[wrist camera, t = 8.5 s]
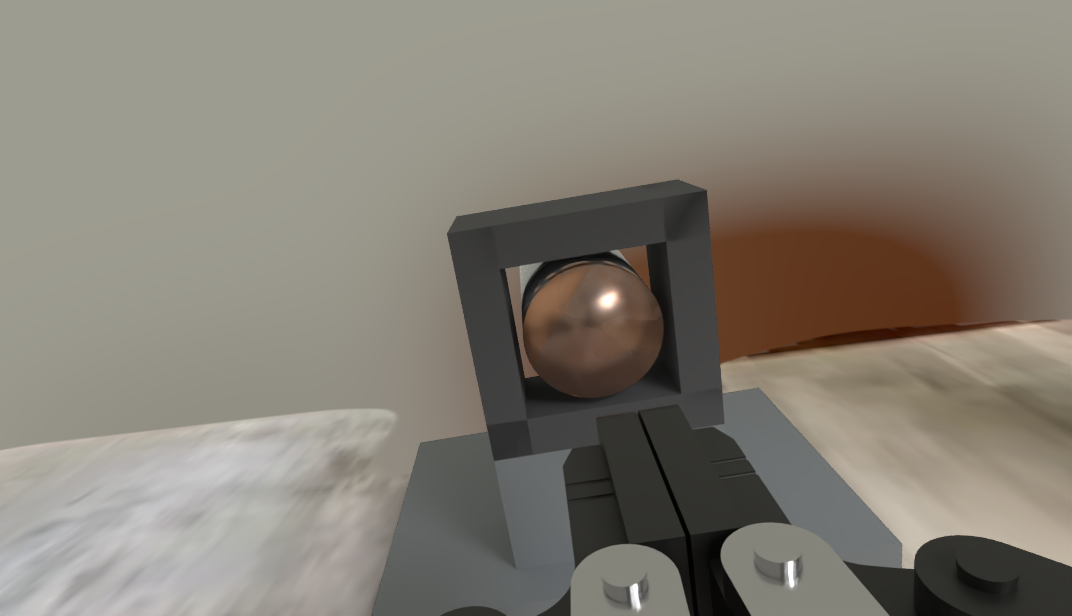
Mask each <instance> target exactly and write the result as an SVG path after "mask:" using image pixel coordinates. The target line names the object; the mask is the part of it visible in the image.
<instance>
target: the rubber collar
mask: <svg viewBox="0 0 1072 616" xmlns="http://www.w3.org/2000/svg"><path fill="white" fill-rule="evenodd" d="M447 236H448V241H449V245H450V250H451V255H452V260H453V265H454V269H455V274H456V279H457V284H458V289H459V294H460V298H461V304H462V308H463V313H464V318H465V323H466V327H467V332H468V337H469V342H470V347H471V352H472V357H473V361H474V366H475V371H476V376H477V381H478V386H479V390H480V395H481V400H482V405H483V410H484V415H485V420H486V425H487V429H488V434H489V439H490V444H491V449H492V454H493V459H494V461H499V460H505V459H511V458H517V457H523V456H529V455H536V454H542V453H548V452H554V451H560V450H566V449H572V448H579V447H585V446H591V445H597V444H599V438H598V431H597V424H596V417H601V416H607V415H613V414H620V413H626V412H632V411H635V412H636V414H637V413H638V410H644V409H651V408H657V407H664V406H670V405H676V404H678V405H679V407H680V408H681V410H682V412H683V414H684V415H685V417H686V419H687V421H688V422H689V424H690V426H691V428H692V429H696V428H702V427H708V426H715V425H721V424H725V422H724V408H723V395H722V382H721V369H720V357H719V344H718V330H717V318H716V304H715V292H714V278H713V265H712V253H711V239H710V227H709V213H708V201H707V190H705V189H702V188H699V187H696V186H694V185H691V184H688V183H686V182H683V181H680V180H672V181H666V182H660V183H655V184H648V185H642V186H636V187H630V188H624V189H618V190H612V191H607V192H600V193H595V194H588V195H582V196H576V197H570V198H564V199H559V200H552V201H546V202H541V203H534V204H528V205H522V206H516V207H510V208H504V209H499V210H493V211H486V212H481V213H474V214H469V215H463V216H457V217H456V219H455V220H454V222H453V224H452V226H451V227H450V229H449V231H448V233H447ZM643 245H646V248H647V257H648V267H649V276H650V286H651V292H652V293H653V295H654V296H655V298H656V300H657V302H658V304H659V306H660V309H661V313H662V317H663V326H664V332H663V341H662V345H661V349H660V351H659V354H658V357H657V358H656V360H655V362H654V364H653V365H652V366H651V368H650V369H649V371H648V372H647V373H646V374H645V375H644V376H643V377H642V378H641V379H640V380H639V381H637V382H636V383H635V384H633V385H632V386H630V387H629V388H627V389H625V390H623V391H621V392H619V393H616V394H613V395H609V396H605V397H598V398H583V397H576V396H572V395H568V394H566V393H563V392H561V391H559V390H557V389H555V388H553V387H552V386H550V385H549V384H548V383H546V382H545V381H544V380H543V379H542V378H541V377H540V376H536V377H530V378H525V376H524V371H523V365H522V360H521V355H520V349H519V343H518V337H517V332H516V327H515V321H514V315H513V310H512V304H511V299H510V294H509V288H508V282H507V277H506V272H505V268H510V267H517V266H523V265H529V264H535V263H541V262H547V261H553V260H559V259H565V258H571V257H577V256H583V255H589V254H595V253H601V252H607V251H613V250H619V249H624V248H631V247H637V246H643Z"/></svg>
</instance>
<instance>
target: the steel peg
mask: <svg viewBox="0 0 1072 616" xmlns="http://www.w3.org/2000/svg"><path fill="white" fill-rule="evenodd" d="M520 284H521V303H522V323H523V340H524V347H525V351H526V354H527V357H528V359H529V362H530V363H531V365H532V367H533V368H534V370H535V371H536V372H537V374H538V375H539V376H540V377H541V378H542V379H543V380H544V381H545V382H546V383H548V384H549V385H550V386H552V387H553V388H555V389H557V390H559V391H561V392H563V393H566V394H568V395H572V396H576V397H583V398H598V397H605V396H609V395H613V394H616V393H619V392H621V391H623V390H625V389H627V388H629V387H630V386H632V385H633V384H635V383H636V382H637V381H639V380H640V379H641V378H642V377H643V376H644V375H645V374H646V373H647V372H648V371H649V369H650V368H651V366H652V365H653V364H654V362H655V360H656V358H657V356H658V354H659V351H660V349H661V345H662V341H663V332H664V326H663V317H662V313H661V309H660V306H659V304H658V302H657V300H656V298H655V296H654V295H653V293H652V292H651V290H650V289H649V288H648V287H647V285H646V284H645V283H644V282H643V281H642V279H641V278H640V277H639V276H638V274H637V273H636V272H635V271H634V269H633V268H632V267H631V266H630V264H629V263H628V262H627V261H626V259H625V258H624V257H623V256H622V254H621V253H620V252H619V251H618V250H613V251H607V252H601V253H595V254H589V255H583V256H577V257H571V258H565V259H559V260H553V261H547V262H541V263H535V264H529V265H523V266H520Z"/></svg>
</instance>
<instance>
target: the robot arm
mask: <svg viewBox="0 0 1072 616" xmlns="http://www.w3.org/2000/svg"><path fill="white" fill-rule="evenodd" d="M596 424H597V431H598V438H599V444H598V445H592V446H585V447H579V448H572V450H571V452H570V453H569V455H568V457H567V459H566V461H565V463H564V464H563V473H564V481H565V489H566V497H567V505H568V513H569V521H570V529H571V537H572V545H573V553H574V561H575V571H574V573H573V576H572V579H571V586H570V587H569V589H568V591H567V592H566V593H565V595H564V596H563V597H562V598H561V599H560V600H559V601H558V602H557V603H556V604H555V605H553V606H552V607H550V608H549V609H548V610H546V611H544V612H542V613H541V614H539V615H537V616H1072V567H1071V566H1068V565H1065V564H1062V563H1059V562H1056V561H1053V560H1051V559H1048V558H1045V557H1042V556H1039V555H1036V554H1034V553H1031V552H1028V551H1025V550H1022V549H1019V548H1016V547H1014V546H1011V545H1008V544H1005V543H1002V542H998V541H995V540H991V539H987V538H982V537H975V536H963V535H955V536H945V537H940V538H936V539H933V540H931V541H929V542H927V543H925V544H924V545H922V546H921V547H920V548H919V549H918V551H917V553H916V555H915V561H914V569H904V568H892V567H881V566H869V565H862V564H856V563H851V562H847V561H843V560H841V558H840V557H839V556H838V555H837V554H836V553H835V551H834V550H833V549H832V548H831V547H830V546H829V545H828V544H827V543H826V542H825V541H824V540H823V539H821V538H820V537H818V536H817V535H815V534H813V533H812V532H810V531H807V530H805V529H802V528H800V527H796V526H793V525H792V524H791V523H790V521H789V520H788V518H787V517H786V515H785V514H784V512H783V511H782V509H781V508H780V507H779V505H778V504H777V502H776V501H775V499H774V498H773V496H772V495H771V493H770V492H769V490H768V489H767V487H766V486H765V484H764V483H763V481H762V480H761V478H760V477H759V475H756V471H755V469H754V468H753V466H752V465H751V463H750V462H749V460H746V456H745V454H744V453H743V452H742V450H741V449H740V447H739V446H738V444H737V443H736V441H735V440H734V439H733V438H731V437H730V436H728V435H726V434H725V433H723V432H721V431H720V430H718V429H716V428H714V427H706V428H700V429H693V430H692V428H691V426H690V424H689V422H688V421H687V419H686V417H685V415H684V414H683V412H682V410H681V408H680V407H679V405H678V404H676V405H670V406H664V407H657V408H651V409H644V410H638V413H637V414H636V412H635V411H632V412H626V413H620V414H613V415H607V416H601V417H596ZM440 616H506V615H505V614H503V613H502V612H500V611H498V610H495V609H493V608H489V607H483V606H469V607H462V608H458V609H454V610H451V611H449V612H446V613H444V614H442V615H440Z"/></svg>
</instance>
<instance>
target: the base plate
mask: <svg viewBox="0 0 1072 616" xmlns="http://www.w3.org/2000/svg"><path fill="white" fill-rule="evenodd" d="M722 395H723V408H724V422H725V424H721V425H715V426H708V427H714V428H716V429H718V430H720V431H721V432H723V433H725V434H726V435H728V436H730V437H731V438H733V439H734V440H735V441H736V443H737V444H738V446H739V447H740V449H741V450H742V452H743V453H744V454H745V456H746V460H749V462H750V463H751V465H752V466H753V468H754V469H755V471H756V475H759V477H760V478H761V480H762V481H763V483H764V484H765V486H766V487H767V489H768V490H769V492H770V493H771V495H772V496H773V498H774V499H775V501H776V502H777V504H778V505H779V507H780V508H781V509H782V511H783V512H784V514H785V515H786V517H787V518H788V520H789V521H790V523H791V524H792V525H793V526H796V527H800V528H802V529H805V530H807V531H810V532H812V533H813V534H815V535H817V536H818V537H820V538H821V539H823V540H824V541H825V542H826V543H827V544H828V545H829V546H830V547H831V548H832V549H833V550H834V551H835V553H836V554H837V555H838V556H839V557H840V558H841V560H843V561H847V562H851V563H856V564H862V565H869V566H881V567H892V568H902V543H901V542H900V541H899V540H898V539H897V538H896V537H895V536H894V534H893V533H892V532H891V531H890V530H889V529H888V528H887V527H886V526H885V525H884V524H883V522H882V521H881V520H880V519H879V518H878V517H877V516H876V515H875V514H874V513H873V512H872V510H871V509H870V508H869V507H868V506H867V505H866V504H865V503H864V502H863V501H862V500H861V498H860V497H859V496H858V495H857V494H856V493H855V492H854V491H853V490H852V489H851V488H850V487H849V485H848V484H847V483H846V482H845V481H844V480H843V479H842V478H841V477H840V476H839V475H838V473H837V472H836V471H835V470H834V469H833V468H832V467H831V466H830V465H829V464H828V463H827V461H826V460H825V459H824V458H823V457H822V456H821V455H820V454H819V453H818V452H817V451H816V449H815V448H814V447H813V446H812V445H811V444H810V443H809V442H808V441H807V440H806V439H805V437H804V436H803V435H802V434H801V433H800V432H799V431H798V430H797V429H796V428H795V427H794V426H793V424H792V423H791V422H790V421H789V420H788V419H787V418H786V417H785V416H784V415H783V414H782V412H781V411H780V410H779V409H778V408H777V407H776V406H775V405H774V404H773V403H772V402H771V400H770V399H769V398H768V397H767V396H766V395H765V394H764V393H763V392H762V391H761V390H760V388H754V389H748V390H742V391H736V392H729V393H723V394H722ZM702 428H706V427H702ZM696 429H700V428H696ZM692 430H693V429H692ZM597 445H598V444H597ZM591 446H592V445H591ZM571 450H572V449H566V450H560V451H554V452H548V453H542V454H536V455H529V456H523V457H517V458H511V459H505V460H499V461H494V459H493V454H492V449H491V444H490V439H489V434H488V432H484V433H478V434H472V435H465V436H459V437H453V438H447V439H441V440H435V441H428V442H422V443H420V446H419V449H418V453H417V456H416V460H415V464H414V467H413V471H412V474H411V478H410V481H409V485H408V488H407V492H406V495H405V499H404V502H403V506H402V509H401V513H400V516H399V520H398V523H397V527H396V530H395V534H394V537H393V541H392V545H391V548H390V552H389V555H388V559H387V562H386V566H385V569H384V573H383V576H382V580H381V583H380V587H379V590H378V594H377V597H376V601H375V604H374V608H373V612H372V615H371V616H440V615H442V614H444V613H446V612H449V611H451V610H454V609H458V608H462V607H469V606H483V607H489V608H493V609H495V610H498V611H500V612H502V613H503V614H505V615H506V616H537V615H539V614H541V613H542V612H544V611H546V610H548V609H549V608H550V607H552V606H553V605H555V604H556V603H557V602H558V601H559V600H560V599H561V598H562V597H563V596H564V595H565V593H566V592H567V591H568V589H569V587H570V586H571V579H572V576H573V573H574V571H575V561H574V553H573V545H572V537H571V529H570V521H569V513H568V505H567V497H566V489H565V481H564V473H563V464H564V463H565V461H566V459H567V457H568V455H569V453H570V452H571Z"/></svg>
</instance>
